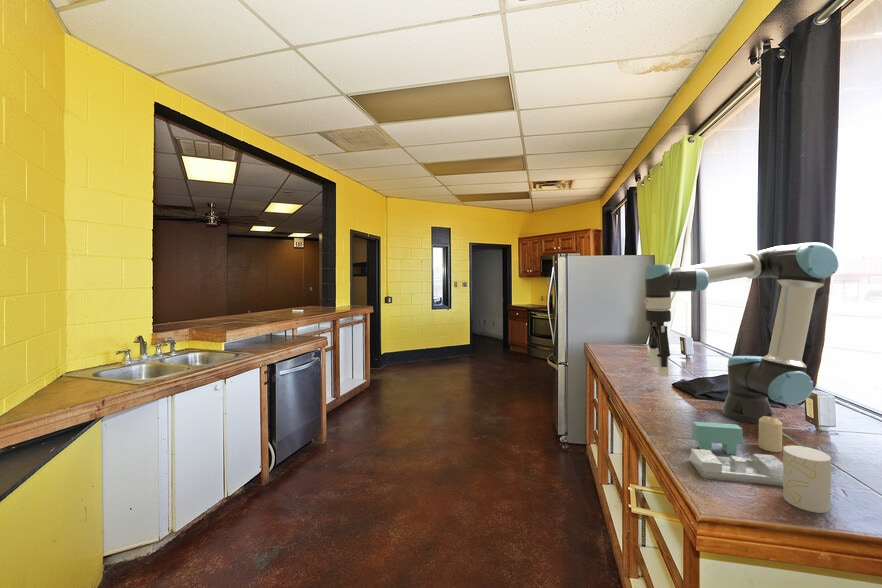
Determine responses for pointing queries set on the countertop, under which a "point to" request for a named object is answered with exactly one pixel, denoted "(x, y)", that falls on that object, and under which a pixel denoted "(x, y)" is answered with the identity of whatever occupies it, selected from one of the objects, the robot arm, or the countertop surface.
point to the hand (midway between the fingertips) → (658, 371)
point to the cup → (807, 478)
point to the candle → (770, 434)
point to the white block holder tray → (738, 467)
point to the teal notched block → (718, 436)
